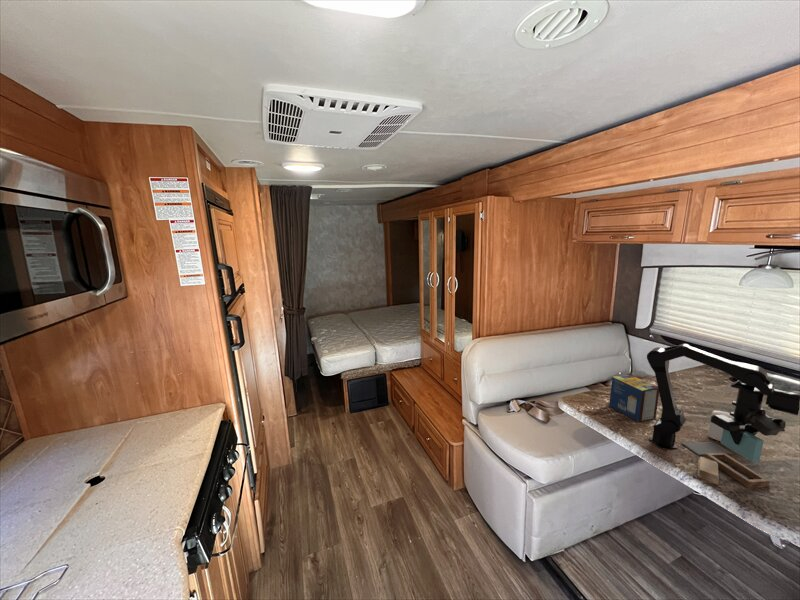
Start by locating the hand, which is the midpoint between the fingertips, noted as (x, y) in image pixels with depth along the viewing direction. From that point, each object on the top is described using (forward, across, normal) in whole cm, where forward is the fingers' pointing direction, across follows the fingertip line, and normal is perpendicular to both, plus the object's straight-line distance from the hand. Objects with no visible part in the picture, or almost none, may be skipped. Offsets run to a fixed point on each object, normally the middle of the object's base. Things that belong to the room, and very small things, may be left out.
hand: (740, 444), depth 107 cm
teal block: (+3, 0, 0) cm, 3 cm away
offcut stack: (+11, -10, 0) cm, 15 cm away
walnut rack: (+11, 0, 0) cm, 11 cm away
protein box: (+11, -6, +40) cm, 42 cm away
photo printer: (+11, +14, +16) cm, 24 cm away
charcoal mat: (+11, +2, +12) cm, 16 cm away
